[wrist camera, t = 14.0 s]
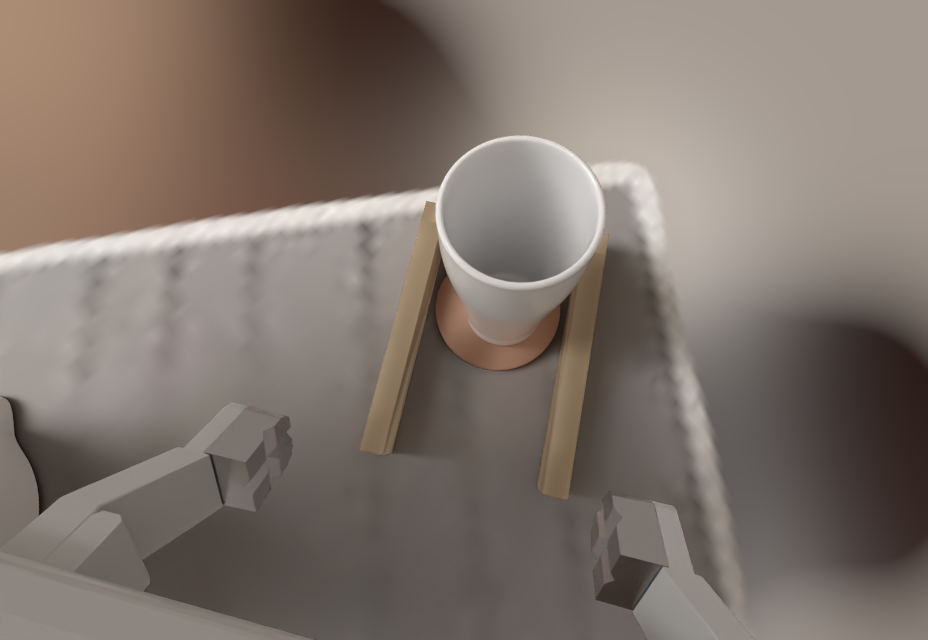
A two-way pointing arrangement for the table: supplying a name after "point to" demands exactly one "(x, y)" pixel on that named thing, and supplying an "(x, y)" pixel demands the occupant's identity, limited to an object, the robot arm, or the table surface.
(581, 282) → the guide channel
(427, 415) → the table surface
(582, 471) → the table surface
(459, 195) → the white cup
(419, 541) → the table surface
